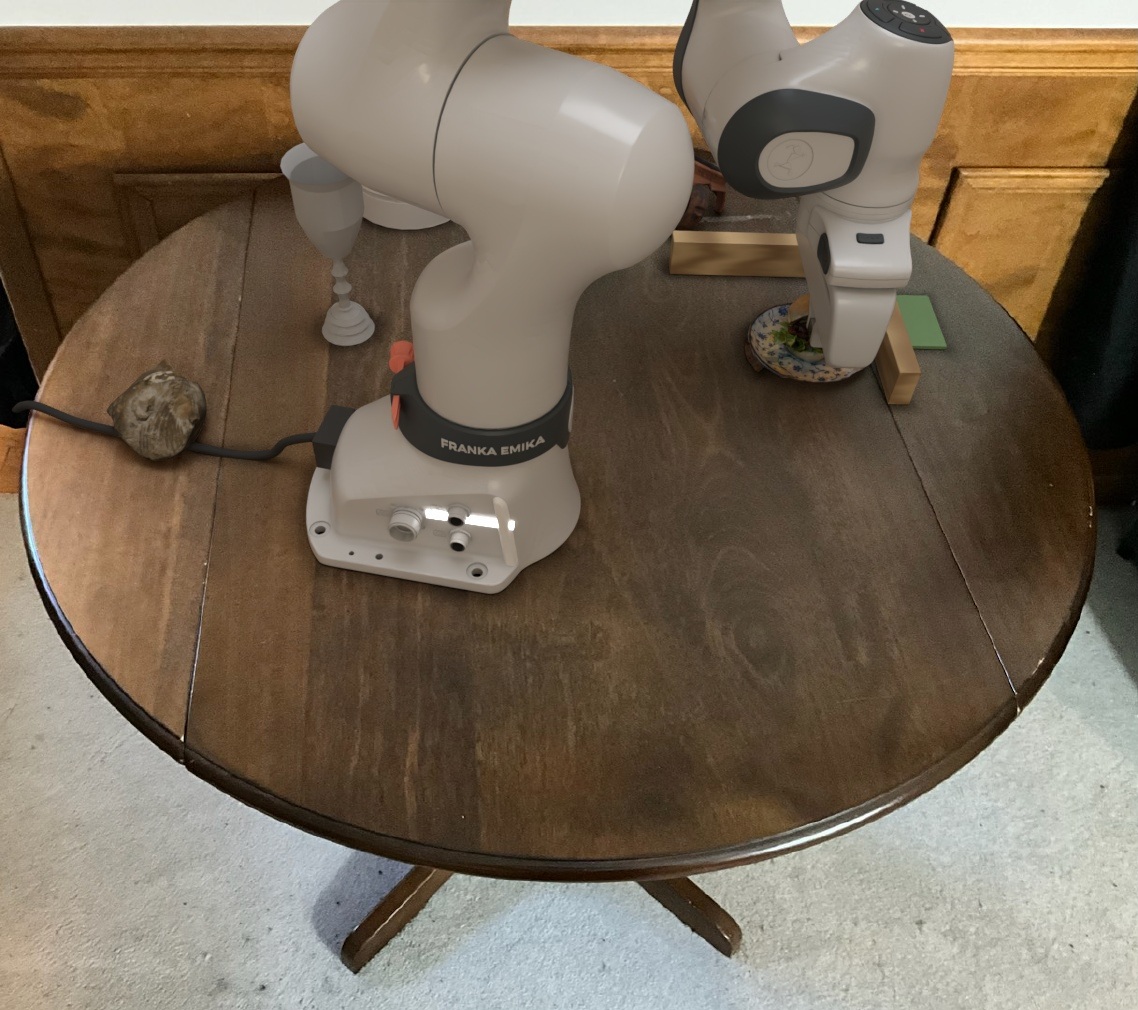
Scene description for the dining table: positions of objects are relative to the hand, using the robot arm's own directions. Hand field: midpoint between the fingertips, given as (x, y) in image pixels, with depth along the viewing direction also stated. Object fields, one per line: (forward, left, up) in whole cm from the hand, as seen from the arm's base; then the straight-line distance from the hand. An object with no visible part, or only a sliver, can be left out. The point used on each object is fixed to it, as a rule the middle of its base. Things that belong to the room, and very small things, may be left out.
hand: (816, 338), depth 96 cm
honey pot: (-40, +28, -4) cm, 49 cm away
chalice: (-44, +5, -4) cm, 45 cm away
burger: (0, +2, -4) cm, 5 cm away
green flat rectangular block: (+12, +8, -4) cm, 15 cm away
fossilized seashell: (-58, -9, -4) cm, 59 cm away
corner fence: (-2, +6, -4) cm, 8 cm away
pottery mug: (-10, +25, -4) cm, 27 cm away
